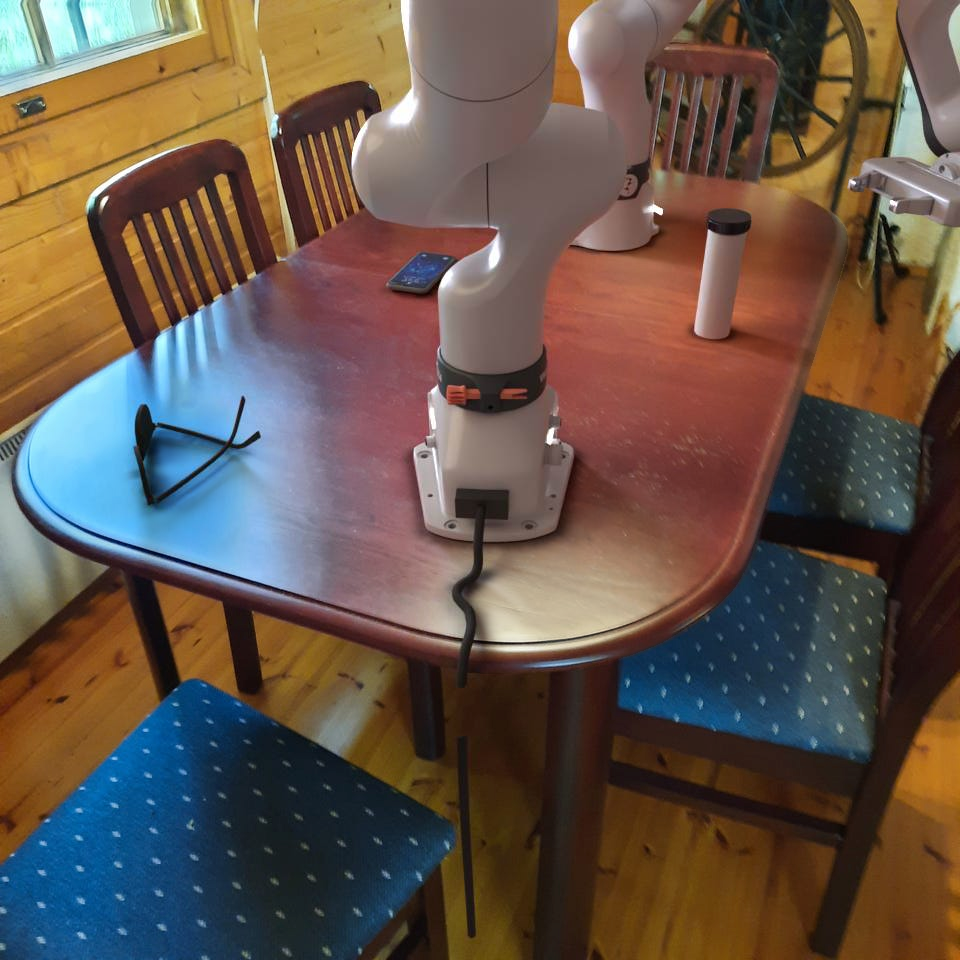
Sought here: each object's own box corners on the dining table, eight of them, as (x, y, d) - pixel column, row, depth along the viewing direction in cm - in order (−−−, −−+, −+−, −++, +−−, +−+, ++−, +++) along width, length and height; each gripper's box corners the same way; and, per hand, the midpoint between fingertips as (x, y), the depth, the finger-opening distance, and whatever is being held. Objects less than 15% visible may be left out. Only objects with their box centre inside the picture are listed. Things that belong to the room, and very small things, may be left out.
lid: (700, 231, 115) (702, 219, 114) (711, 217, 119) (713, 205, 118) (744, 237, 113) (746, 225, 112) (753, 223, 117) (756, 211, 116)
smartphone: (458, 255, 148) (426, 290, 136) (458, 261, 148) (426, 296, 137) (419, 250, 150) (383, 284, 138) (419, 255, 150) (384, 289, 139)
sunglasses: (270, 486, 97) (262, 449, 94) (137, 510, 94) (125, 474, 91) (257, 411, 110) (250, 377, 107) (140, 430, 107) (130, 396, 104)
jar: (690, 335, 124) (705, 222, 114) (699, 321, 128) (714, 210, 118) (724, 342, 122) (743, 227, 112) (732, 327, 126) (752, 215, 116)
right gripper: (915, 142, 128) (833, 151, 125) (1017, 183, 112) (925, 195, 109) (904, 184, 131) (824, 195, 129) (1001, 230, 115) (912, 243, 113)
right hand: (871, 195), depth 119 cm, fingers open, 8 cm apart
